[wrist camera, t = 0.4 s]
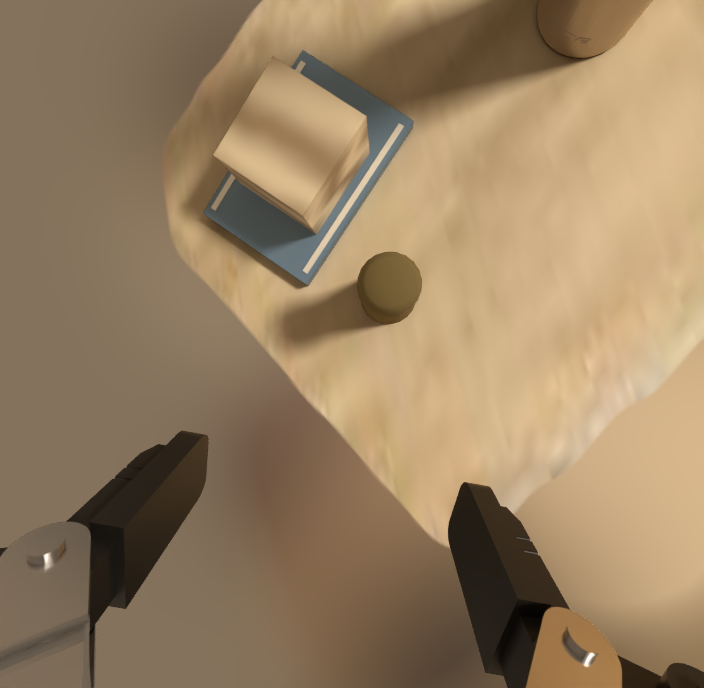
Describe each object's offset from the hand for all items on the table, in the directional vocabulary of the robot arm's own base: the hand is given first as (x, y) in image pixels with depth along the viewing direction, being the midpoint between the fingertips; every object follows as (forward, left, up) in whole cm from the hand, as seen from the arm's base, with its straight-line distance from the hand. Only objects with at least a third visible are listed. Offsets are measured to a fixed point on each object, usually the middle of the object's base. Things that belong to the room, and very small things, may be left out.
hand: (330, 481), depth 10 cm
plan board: (-14, -18, -27) cm, 35 cm away
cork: (-8, -3, -27) cm, 28 cm away
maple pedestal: (-14, -18, -25) cm, 34 cm away
